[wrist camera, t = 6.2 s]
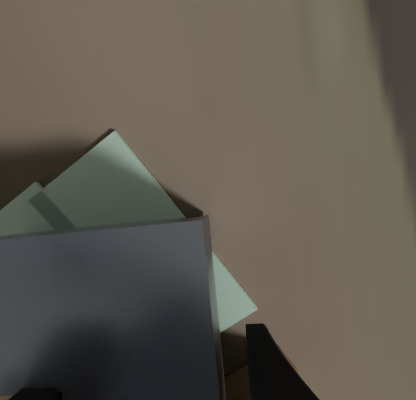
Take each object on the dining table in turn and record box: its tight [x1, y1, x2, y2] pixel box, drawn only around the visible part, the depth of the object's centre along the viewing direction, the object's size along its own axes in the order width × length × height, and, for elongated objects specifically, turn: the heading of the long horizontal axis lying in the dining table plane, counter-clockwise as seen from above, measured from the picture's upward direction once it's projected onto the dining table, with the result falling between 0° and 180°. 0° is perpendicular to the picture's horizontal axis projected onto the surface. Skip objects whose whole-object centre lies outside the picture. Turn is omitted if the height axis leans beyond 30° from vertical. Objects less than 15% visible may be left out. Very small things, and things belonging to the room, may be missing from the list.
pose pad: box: [0, 130, 258, 333], centre depth 14 cm, size 10×9×1 cm
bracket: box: [0, 215, 226, 400], centre depth 10 cm, size 9×8×5 cm
